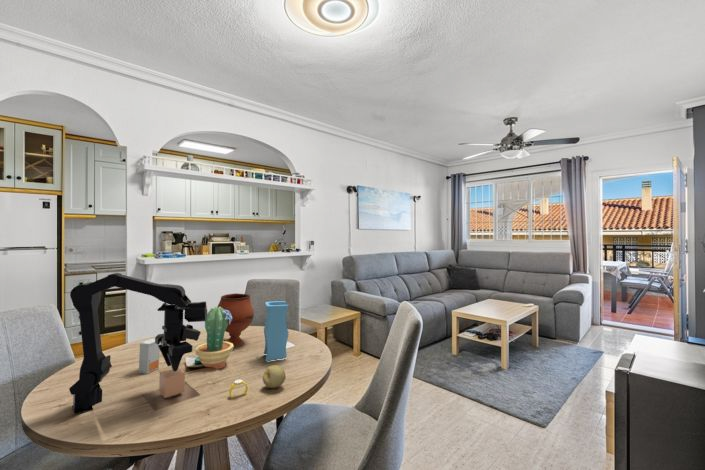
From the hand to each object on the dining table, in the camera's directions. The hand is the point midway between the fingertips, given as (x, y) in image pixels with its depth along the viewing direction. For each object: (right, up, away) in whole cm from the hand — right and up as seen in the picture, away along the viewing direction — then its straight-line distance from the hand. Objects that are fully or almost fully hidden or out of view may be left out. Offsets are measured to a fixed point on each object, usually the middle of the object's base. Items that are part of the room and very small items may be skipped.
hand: (172, 368), depth 108 cm
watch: (+22, -11, +1) cm, 25 cm away
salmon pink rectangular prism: (0, -8, 0) cm, 8 cm away
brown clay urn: (+1, -11, +55) cm, 56 cm away
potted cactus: (+2, -11, +28) cm, 30 cm away
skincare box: (-22, -10, +21) cm, 32 cm away
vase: (+26, -11, +38) cm, 48 cm away
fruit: (+33, -11, +9) cm, 36 cm away
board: (0, -10, 0) cm, 10 cm away
